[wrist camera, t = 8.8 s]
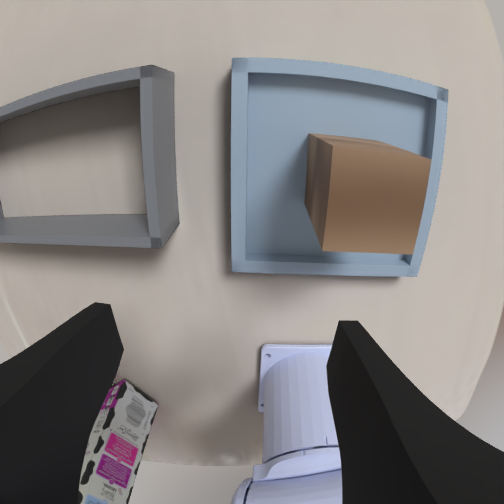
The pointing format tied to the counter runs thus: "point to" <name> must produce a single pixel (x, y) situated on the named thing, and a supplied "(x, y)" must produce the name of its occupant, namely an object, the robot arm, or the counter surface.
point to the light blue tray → (296, 152)
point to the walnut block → (364, 194)
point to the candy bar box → (116, 446)
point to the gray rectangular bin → (153, 156)
